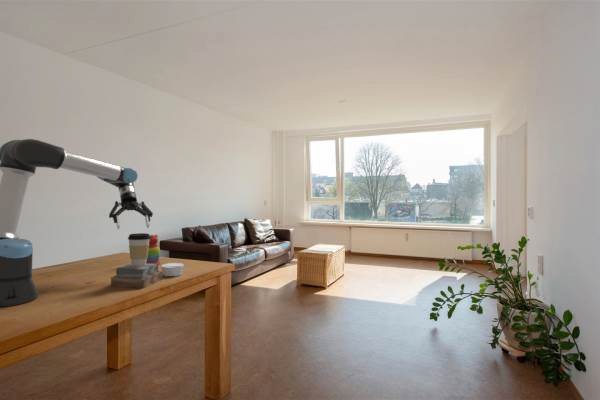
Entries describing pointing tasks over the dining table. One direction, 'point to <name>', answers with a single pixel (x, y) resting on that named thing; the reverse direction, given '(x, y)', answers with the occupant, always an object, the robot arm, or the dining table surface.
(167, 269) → the ramekin
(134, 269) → the grey stacked platform
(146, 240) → the coffee cup
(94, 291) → the dining table surface
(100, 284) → the dining table surface
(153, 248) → the stacking bear
